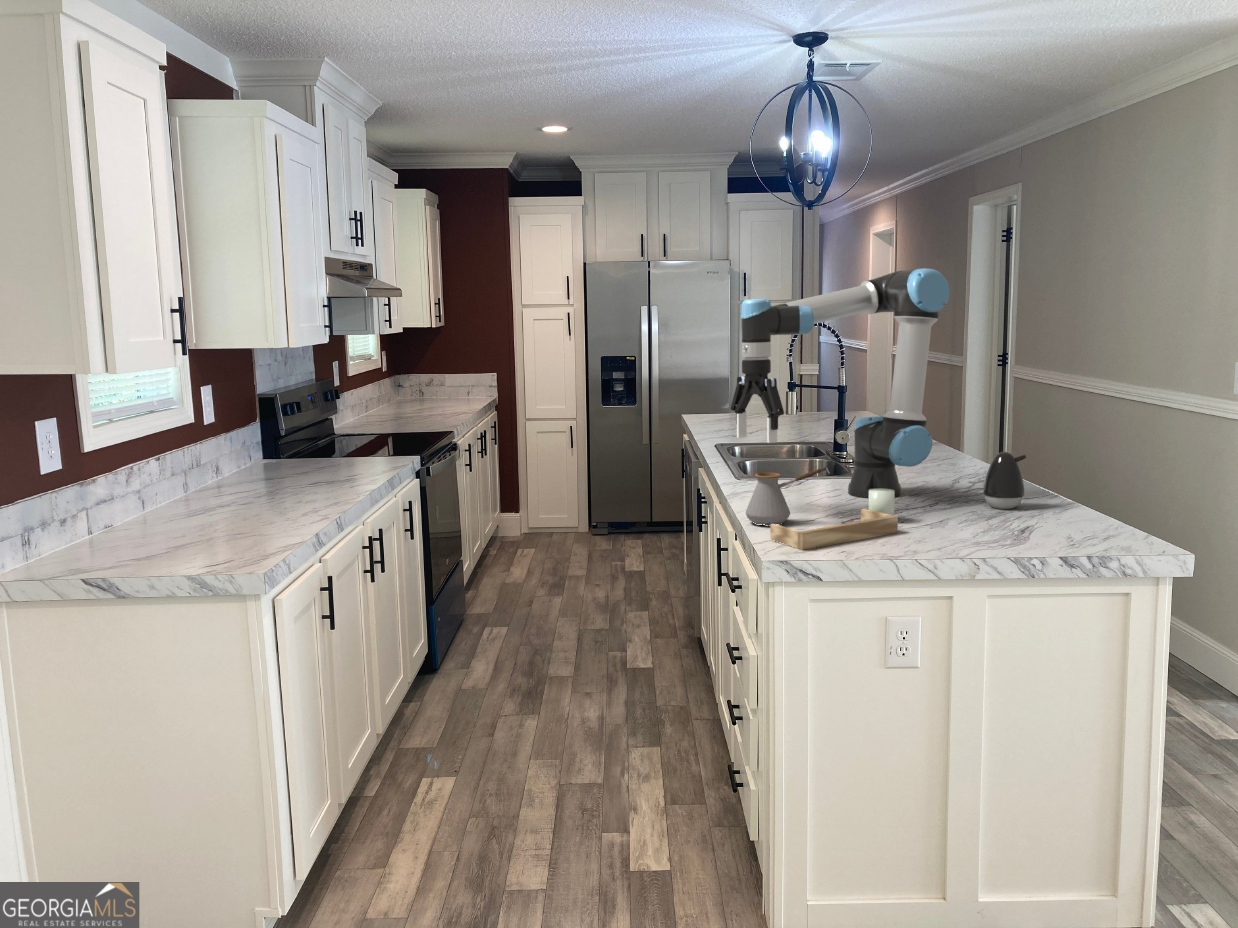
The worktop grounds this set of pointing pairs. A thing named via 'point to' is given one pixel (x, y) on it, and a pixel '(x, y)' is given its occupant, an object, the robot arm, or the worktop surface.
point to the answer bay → (837, 531)
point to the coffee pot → (771, 499)
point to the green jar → (882, 500)
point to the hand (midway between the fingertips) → (756, 439)
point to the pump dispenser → (1004, 482)
